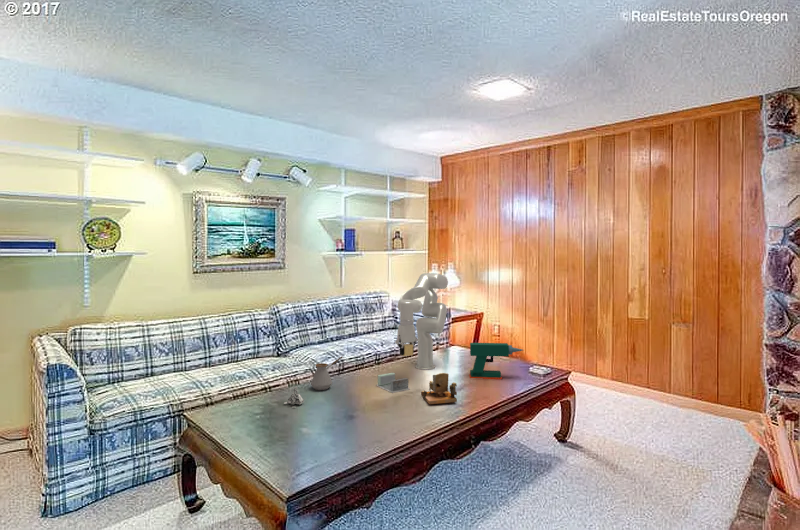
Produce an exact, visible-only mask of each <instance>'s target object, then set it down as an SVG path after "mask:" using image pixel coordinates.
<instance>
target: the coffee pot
mask: <svg viewBox="0 0 800 530" xmlns="http://www.w3.org/2000/svg"><path fill="white" fill-rule="evenodd" d="M341 359H342V360H345V357H344V356H340V357H338V358H337V359H335V360H334V361H333V362H332V363H331V364H329V365H328V363H322V362H320V363H316V364H315V367H316V370H315V372H314V374H313V377H312V379H311V382H310V385H311V387H312V388H313V389H314V390H316V391H326V390H327V389H329V388H330V387H331V386H332V385H333V381H332V379H331V376H330V374H329V371H328V369H330V368H331V367H332V366H333V365H335V364H336V363H338V362H339V361H341Z"/></svg>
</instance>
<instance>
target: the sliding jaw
mask: <svg viewBox="0 0 800 530" xmlns="http://www.w3.org/2000/svg"><path fill="white" fill-rule="evenodd" d="M392 380H396V373H395V372H390V373H389V372H388V373H382V374H378V375H377V384H378V385H384V384H389V383H391V381H392Z"/></svg>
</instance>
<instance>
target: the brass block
mask: <svg viewBox="0 0 800 530" xmlns="http://www.w3.org/2000/svg"><path fill="white" fill-rule="evenodd" d="M403 348H404V355H401V356H402V357H409V356H413V355H414V352H413V344H410V343H404V346H403Z"/></svg>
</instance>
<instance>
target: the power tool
mask: <svg viewBox="0 0 800 530" xmlns="http://www.w3.org/2000/svg"><path fill="white" fill-rule="evenodd" d="M522 351H524V349H521V348H517V347H513V345H512V344H511V345H509V344H508V342H506V343H505V342H504V343H503V342H470V343H469V354H470V355H469V356H471V357H475V359H474V364H473V367H472V369H470V370H469V374H468V376H469V379H470V378H483V379H482V380H501V379H502V380H503V377H502V373H501V370H488V369H487V370H486V369H485V365H486V363H494V357H509V356H510V355H511V356H512V355H513V353H517V352H522ZM487 357H490V358H487Z"/></svg>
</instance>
